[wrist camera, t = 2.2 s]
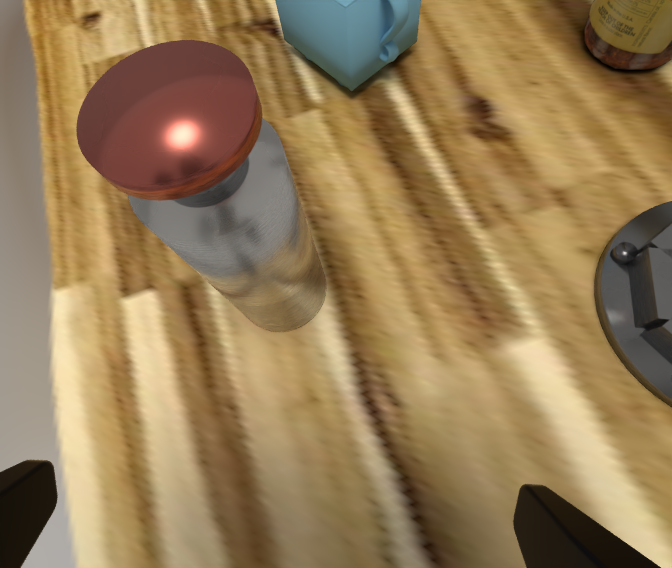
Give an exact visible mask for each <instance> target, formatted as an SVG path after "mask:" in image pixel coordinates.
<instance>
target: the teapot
mask: <svg viewBox="0 0 672 568" xmlns="http://www.w3.org/2000/svg"><path fill="white" fill-rule="evenodd" d="M275 1H276V5H277V9H278V13H279V18H280V22H281V26H282V31H283V35H284V39H285V41H287V42H288V43H289V44H291V45H292V46H293V47H294V48H296V49H297V50H298V51H300V52H301V53H302V54H303V55H305V57H306V59H308V60H310V61H313V62H314V63H315V64H316V65H318V66H319V67H320V68H322V69H323V70H324V71H326V72H327V73H328V74H329V75H331V76H332V77H333V78H335V79H336V80H337V81H338V83H339V84H340V85H341V86H344V87H346V88H348V89H349V90H350V91H353V90H354V89H355V88H357V87H358V86H359V85H361V84H362V83H363V82H365V81H366V80H367V79H368V78H370V77H371V76H372V75H374V74H375V73H376V72H378V71H379V70H380V69H381V68H383V67H384V66H385V65H387V64H388V63H390V62H393V61H394V60H395V59H396V58H397V56H398V55H400V54H401V53H402V52H404V51H405V50H406V49H408V48H409V47H410V46H411V45H413V44H414V43H415V42H417V33H418V24H419V14H420V5H421V0H275Z"/></svg>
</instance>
